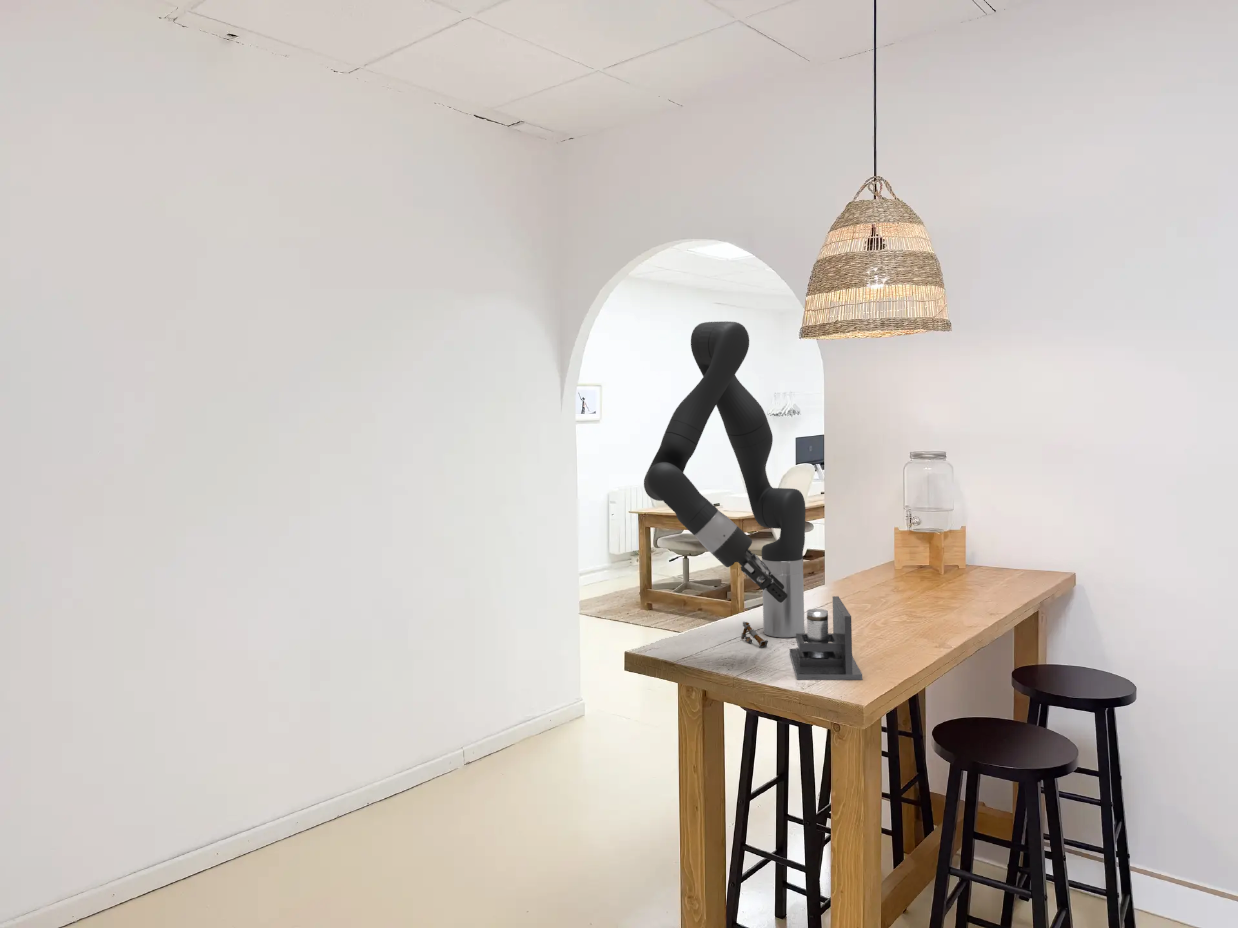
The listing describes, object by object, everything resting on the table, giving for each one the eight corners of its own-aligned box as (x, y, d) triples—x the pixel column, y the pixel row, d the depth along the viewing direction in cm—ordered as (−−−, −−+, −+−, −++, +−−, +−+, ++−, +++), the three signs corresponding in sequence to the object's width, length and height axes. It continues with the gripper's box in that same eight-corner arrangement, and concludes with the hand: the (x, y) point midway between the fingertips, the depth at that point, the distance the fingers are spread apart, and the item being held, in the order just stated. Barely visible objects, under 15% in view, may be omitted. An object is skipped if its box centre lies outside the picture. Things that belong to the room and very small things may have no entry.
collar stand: (789, 653, 179) (788, 596, 179) (848, 653, 178) (847, 596, 177) (797, 679, 161) (795, 616, 161) (862, 679, 160) (861, 616, 159)
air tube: (806, 658, 172) (805, 608, 171) (827, 658, 171) (826, 608, 171) (808, 663, 168) (807, 613, 167) (830, 663, 167) (829, 613, 167)
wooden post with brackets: (743, 635, 192) (747, 618, 191) (763, 656, 186) (768, 639, 184) (736, 636, 192) (740, 619, 190) (757, 658, 185) (761, 641, 183)
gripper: (736, 529, 163) (799, 588, 162) (735, 520, 177) (793, 574, 176) (709, 557, 164) (771, 616, 163) (710, 546, 178) (767, 600, 177)
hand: (782, 594), depth 170 cm, fingers open, 8 cm apart
